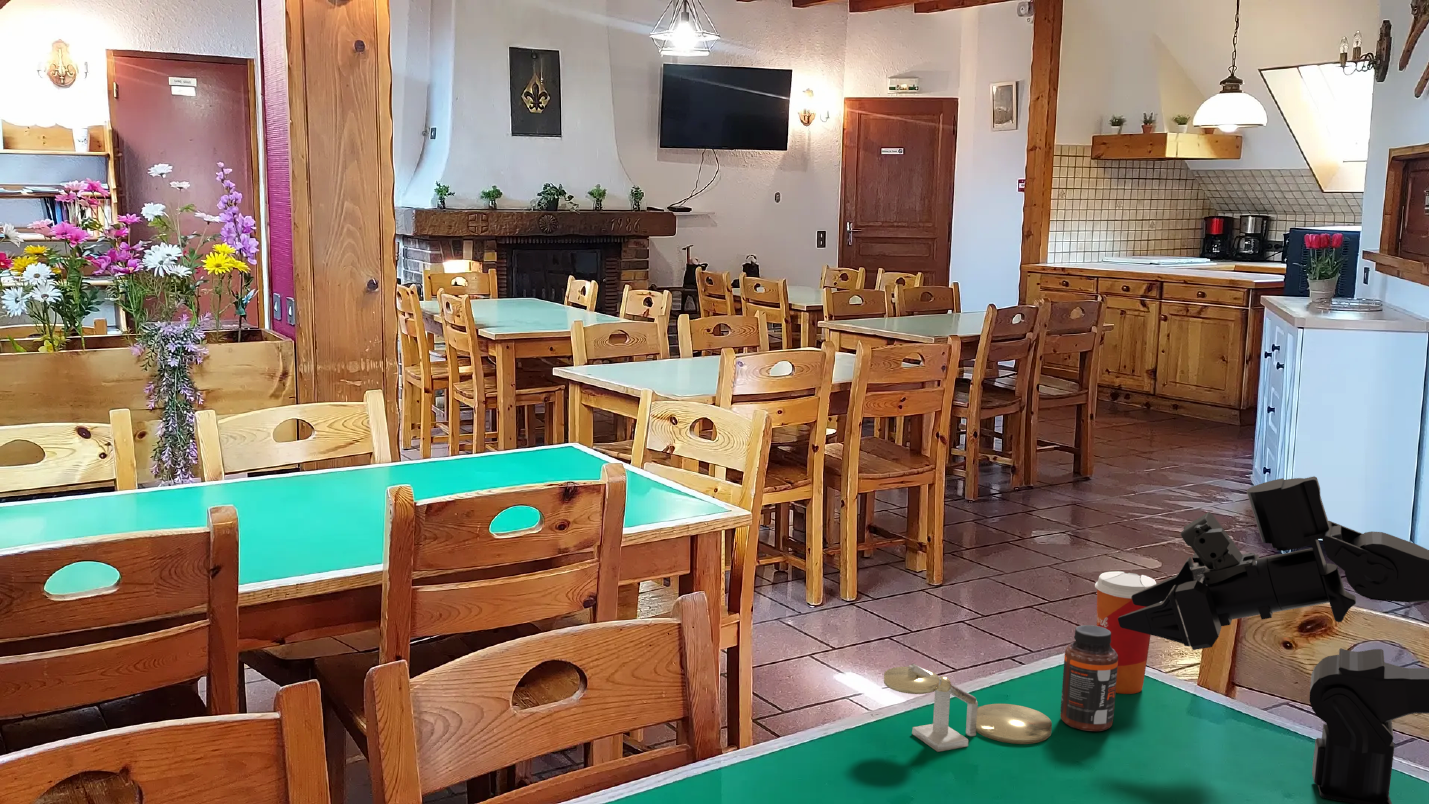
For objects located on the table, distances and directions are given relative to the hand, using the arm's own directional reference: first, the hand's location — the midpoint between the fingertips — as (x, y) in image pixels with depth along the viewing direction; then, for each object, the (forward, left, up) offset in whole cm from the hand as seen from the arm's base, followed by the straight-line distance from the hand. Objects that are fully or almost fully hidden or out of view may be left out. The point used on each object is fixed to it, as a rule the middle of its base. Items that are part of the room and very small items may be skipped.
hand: (1125, 610), depth 135 cm
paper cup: (0, -18, -16) cm, 24 cm away
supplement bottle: (+3, -4, -16) cm, 17 cm away
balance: (+16, +5, -15) cm, 23 cm away
